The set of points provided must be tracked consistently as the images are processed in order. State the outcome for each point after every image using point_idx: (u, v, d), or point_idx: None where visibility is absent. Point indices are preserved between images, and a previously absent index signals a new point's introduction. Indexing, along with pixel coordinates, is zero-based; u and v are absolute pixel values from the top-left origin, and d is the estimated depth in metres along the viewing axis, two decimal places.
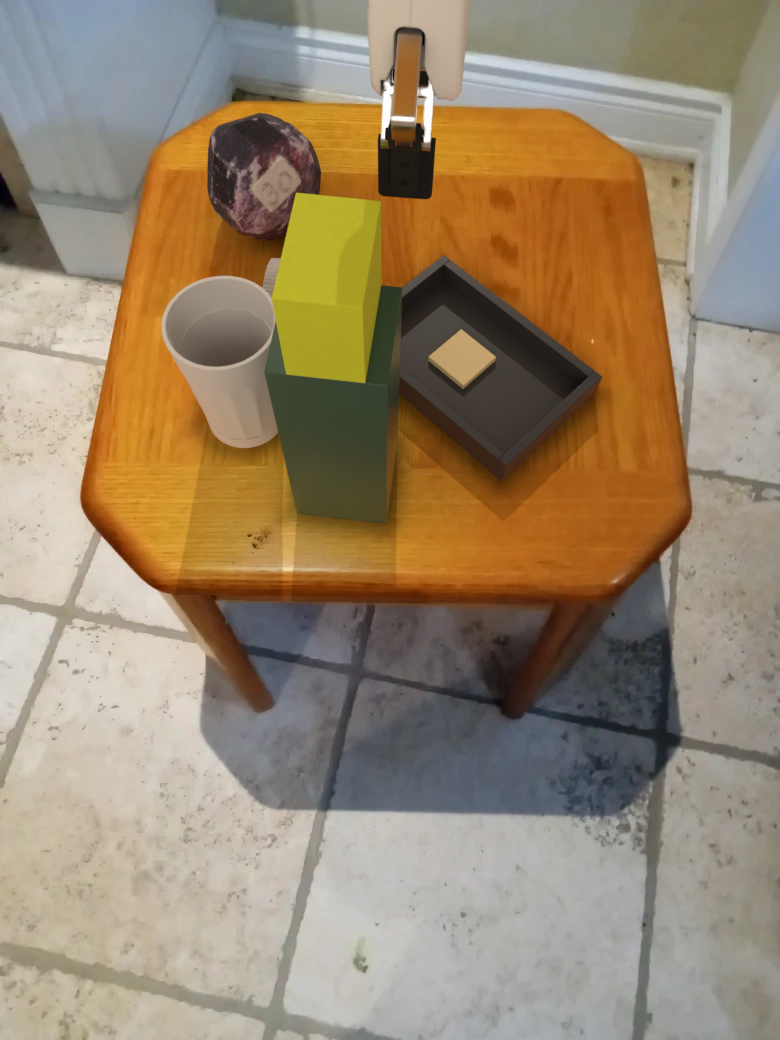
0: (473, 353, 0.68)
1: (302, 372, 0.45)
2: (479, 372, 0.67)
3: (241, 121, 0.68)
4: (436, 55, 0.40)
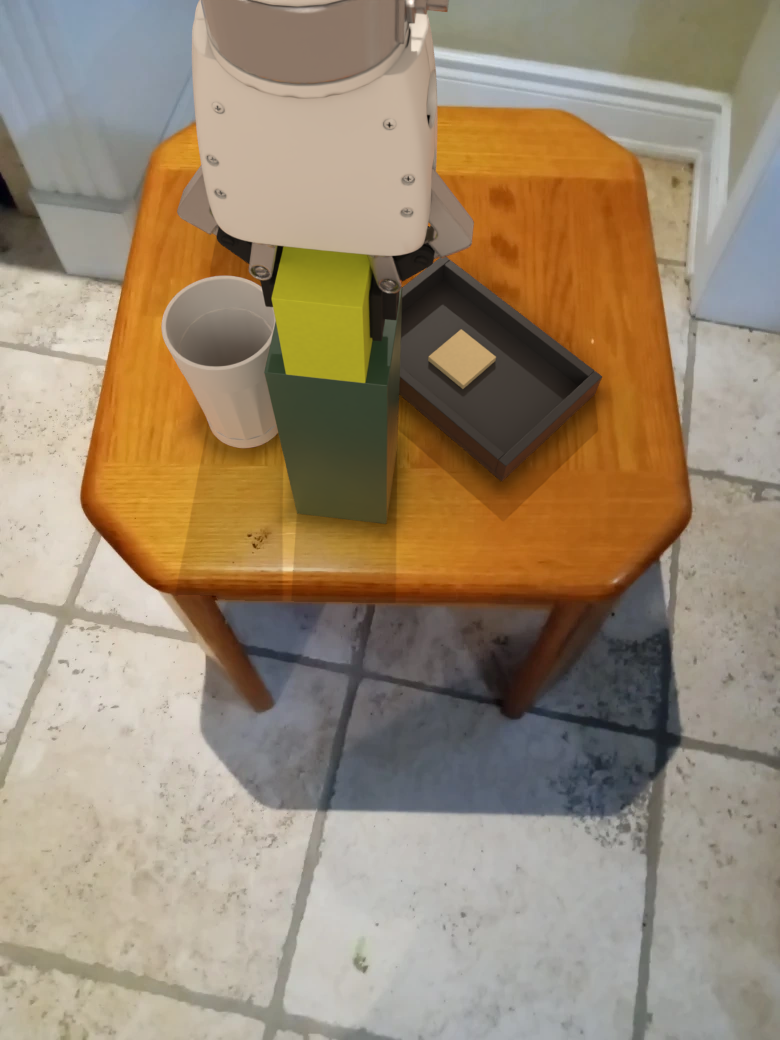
0: (473, 353, 0.68)
1: (302, 372, 0.45)
2: (479, 372, 0.67)
3: None
4: (436, 157, 0.37)
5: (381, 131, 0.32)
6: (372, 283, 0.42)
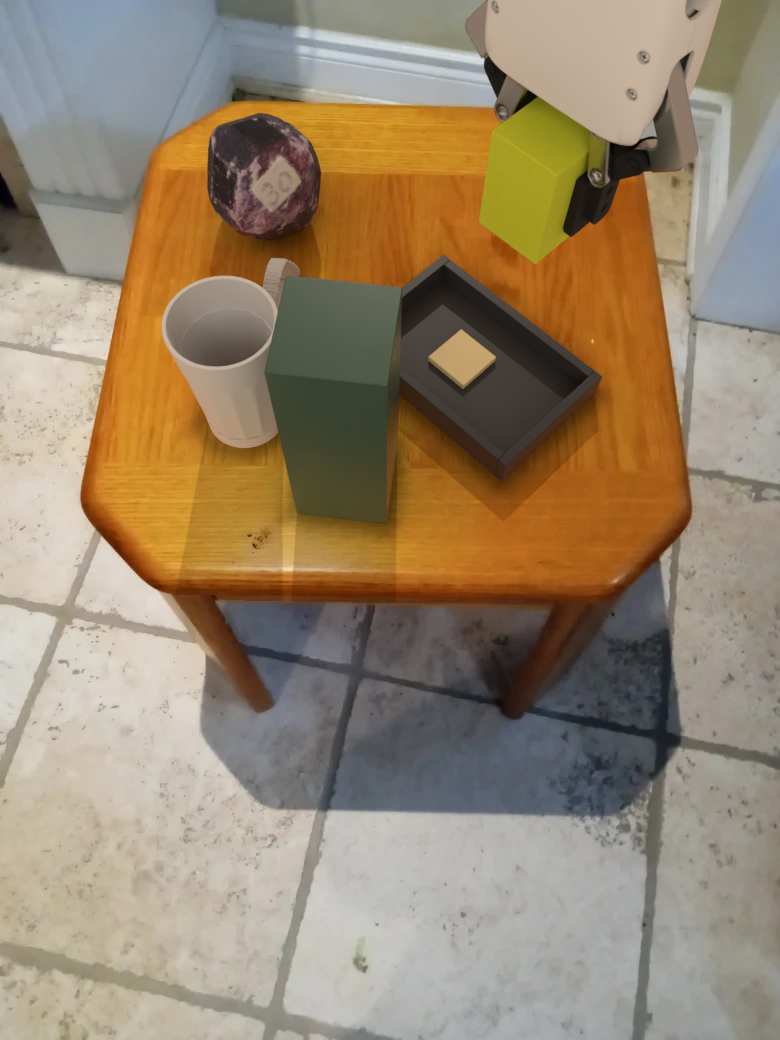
0: (473, 353, 0.68)
1: (491, 226, 0.48)
2: (479, 372, 0.67)
3: (241, 121, 0.68)
4: (694, 68, 0.37)
5: None
6: (586, 172, 0.43)
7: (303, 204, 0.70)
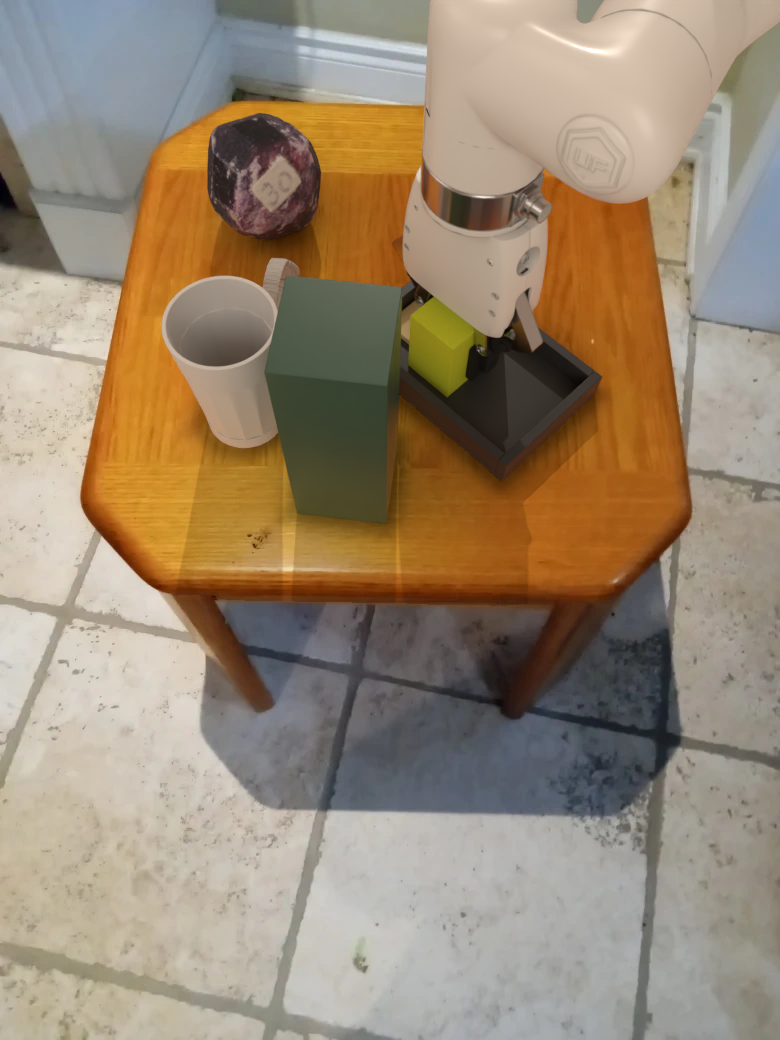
0: None
1: (416, 369, 0.67)
2: None
3: (241, 121, 0.68)
4: (535, 293, 0.57)
5: (485, 263, 0.53)
6: None
7: (303, 204, 0.70)
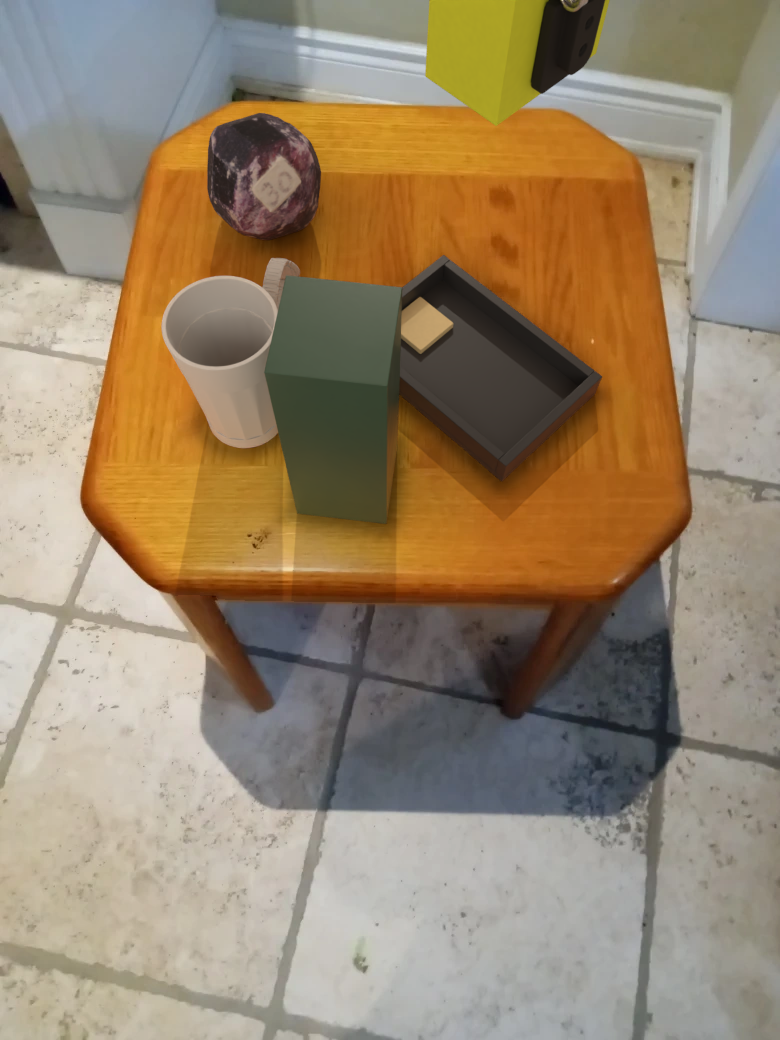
0: (431, 320, 0.69)
1: (440, 78, 0.37)
2: (436, 338, 0.69)
3: (241, 121, 0.68)
4: None
5: None
6: None
7: (303, 204, 0.70)
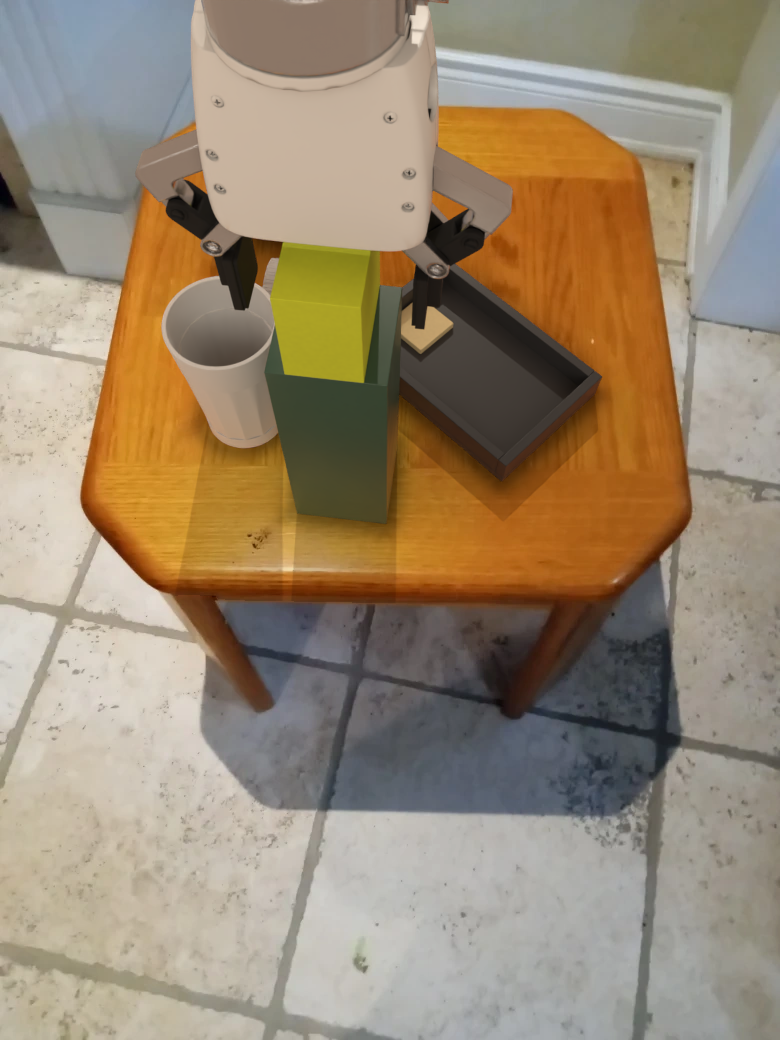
0: (431, 320, 0.69)
1: (301, 372, 0.45)
2: (436, 338, 0.69)
3: None
4: None
5: (381, 125, 0.31)
6: (418, 268, 0.41)
7: None
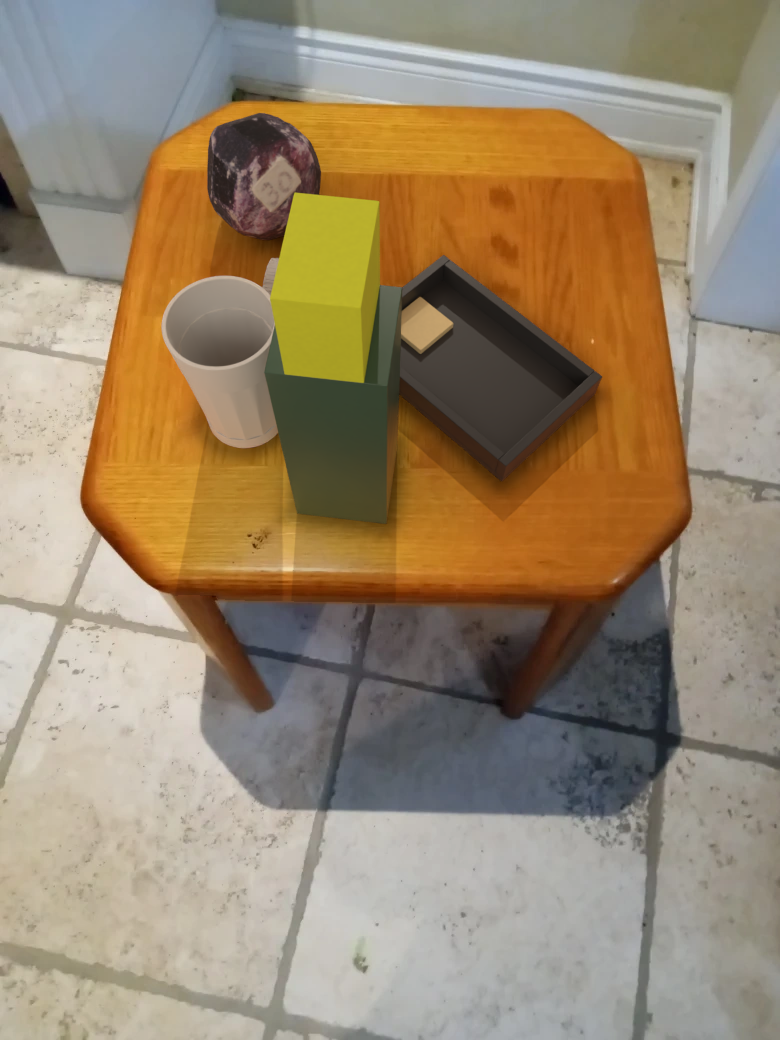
0: (431, 320, 0.69)
1: (301, 372, 0.45)
2: (436, 338, 0.69)
3: (241, 121, 0.68)
4: None
5: None
6: None
7: None
